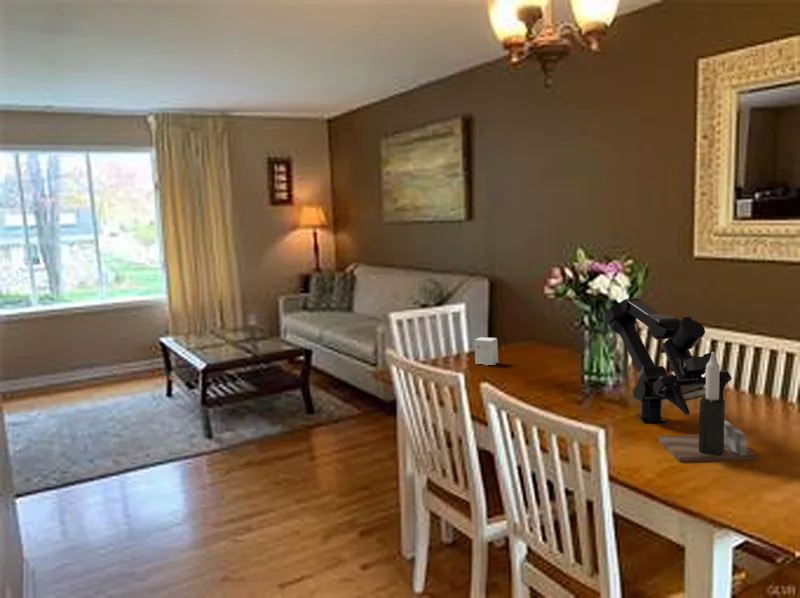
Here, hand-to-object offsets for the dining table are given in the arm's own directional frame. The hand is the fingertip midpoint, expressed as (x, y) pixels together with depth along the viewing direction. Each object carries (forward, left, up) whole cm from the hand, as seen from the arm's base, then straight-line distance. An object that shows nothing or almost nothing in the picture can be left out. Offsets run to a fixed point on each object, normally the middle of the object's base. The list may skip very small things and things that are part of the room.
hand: (705, 412), depth 149 cm
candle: (+3, 0, -9) cm, 9 cm away
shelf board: (-1, 0, -10) cm, 10 cm away
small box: (-95, -46, -10) cm, 106 cm away
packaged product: (-47, +13, -11) cm, 50 cm away
